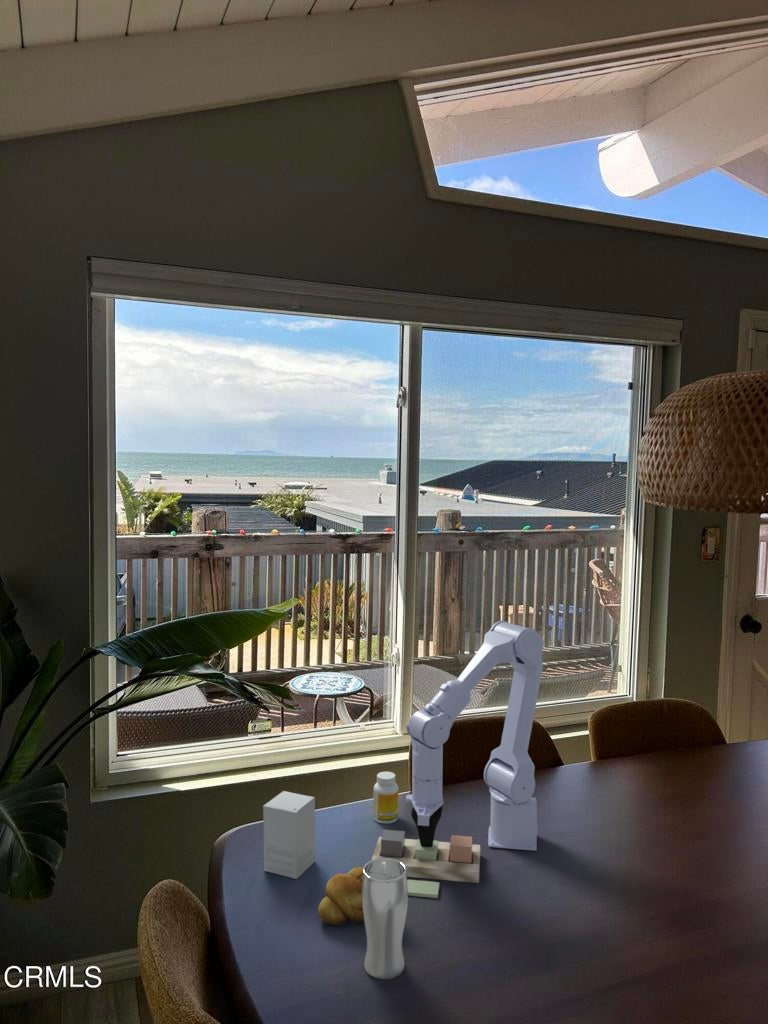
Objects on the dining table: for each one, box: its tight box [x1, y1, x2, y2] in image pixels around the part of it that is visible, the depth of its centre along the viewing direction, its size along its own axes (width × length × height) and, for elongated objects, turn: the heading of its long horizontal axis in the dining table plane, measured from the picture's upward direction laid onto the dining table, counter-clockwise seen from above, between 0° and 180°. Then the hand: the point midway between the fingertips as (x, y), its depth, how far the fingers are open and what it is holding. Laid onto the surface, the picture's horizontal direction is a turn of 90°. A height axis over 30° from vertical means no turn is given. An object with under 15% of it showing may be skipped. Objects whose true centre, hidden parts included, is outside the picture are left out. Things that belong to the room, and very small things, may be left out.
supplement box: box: [262, 790, 316, 880], centre depth 138 cm, size 7×7×13 cm
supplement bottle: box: [372, 771, 399, 825], centre depth 157 cm, size 5×5×10 cm
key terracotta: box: [449, 834, 473, 864], centre depth 138 cm, size 4×4×3 cm
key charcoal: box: [381, 829, 406, 858], centre depth 140 cm, size 4×4×3 cm
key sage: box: [415, 838, 439, 861], centre depth 139 cm, size 4×4×3 cm
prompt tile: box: [407, 878, 440, 899], centre depth 130 cm, size 6×4×1 cm, turn 81°
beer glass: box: [361, 858, 409, 980], centre depth 110 cm, size 7×7×15 cm
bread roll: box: [317, 866, 364, 926], centre depth 123 cm, size 13×10×8 cm
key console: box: [371, 836, 481, 884], centre depth 139 cm, size 20×10×2 cm, turn 81°
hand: (426, 845), depth 139 cm, fingers closed, pressing on key sage
